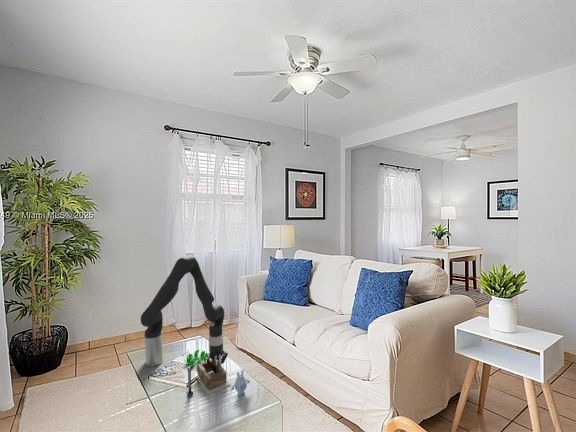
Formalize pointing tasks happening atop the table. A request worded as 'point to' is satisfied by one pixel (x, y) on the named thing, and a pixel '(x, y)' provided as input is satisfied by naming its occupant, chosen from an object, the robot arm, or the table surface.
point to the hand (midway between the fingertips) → (216, 371)
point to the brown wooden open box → (214, 379)
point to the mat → (214, 387)
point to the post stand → (189, 383)
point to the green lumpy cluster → (189, 357)
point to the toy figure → (240, 384)
